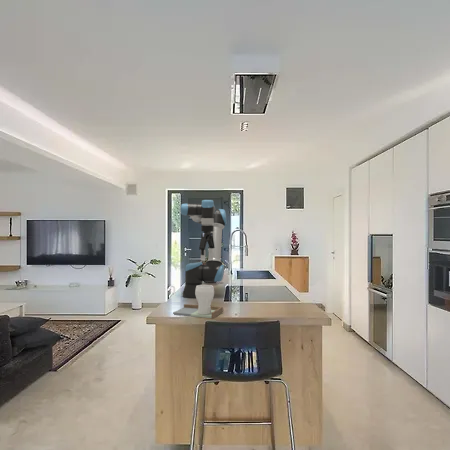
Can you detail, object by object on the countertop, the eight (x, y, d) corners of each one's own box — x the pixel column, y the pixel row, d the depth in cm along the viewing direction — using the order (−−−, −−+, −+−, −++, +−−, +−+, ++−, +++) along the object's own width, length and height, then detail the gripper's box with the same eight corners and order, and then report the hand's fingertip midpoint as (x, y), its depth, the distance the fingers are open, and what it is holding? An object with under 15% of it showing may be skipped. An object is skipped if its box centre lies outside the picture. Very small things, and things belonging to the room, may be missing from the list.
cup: (196, 315, 234) (196, 287, 234) (193, 311, 244) (194, 284, 244) (215, 314, 236) (215, 287, 236) (212, 310, 246) (212, 284, 246)
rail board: (184, 309, 255) (184, 304, 255) (222, 312, 247) (222, 307, 247) (173, 314, 240) (173, 309, 240) (213, 318, 232) (213, 312, 232)
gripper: (208, 224, 277) (208, 257, 277) (194, 225, 253) (193, 261, 253) (219, 225, 274) (219, 258, 275) (205, 225, 251) (205, 261, 251)
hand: (206, 259), depth 264 cm, fingers open, 13 cm apart
